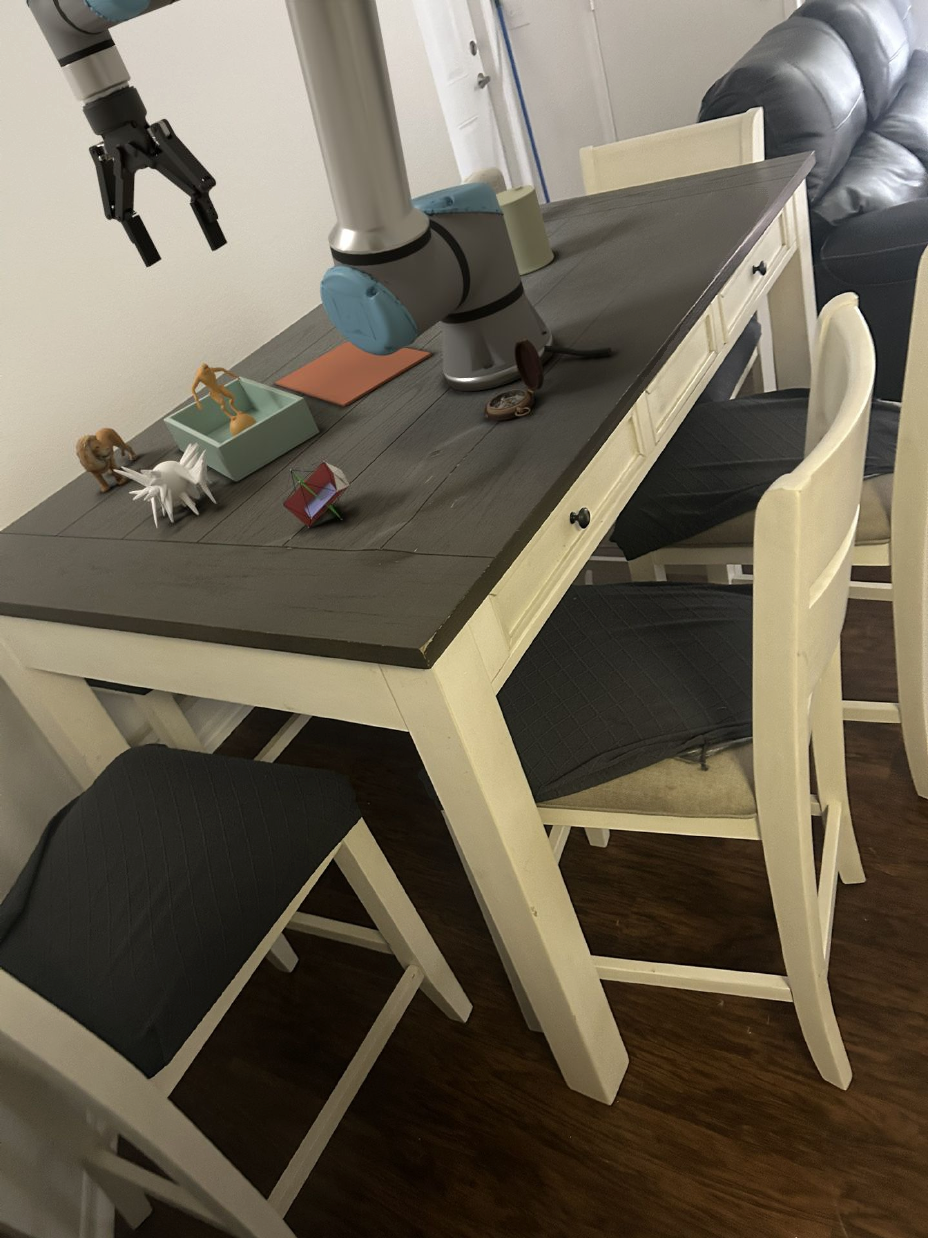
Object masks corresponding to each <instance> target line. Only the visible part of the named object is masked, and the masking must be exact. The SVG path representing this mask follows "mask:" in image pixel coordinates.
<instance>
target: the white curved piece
mask: <svg viewBox="0 0 928 1238" xmlns="http://www.w3.org/2000/svg"><path fill="white" fill-rule="evenodd" d="M477 182H482V183H486V184H488V185H489V186H491V187H492V188H493V190H494V191H495V194H498V193H501V192H503V191H506V190H508V189H507V188H508V187H507V184H506V180H505V177H504V175H503V173H502V171H501V169H499V167H496V166H489V167H483V168H480V169H478V170H476V171H474V172H471V173H470V174H469V175H468V176H466V177H465V178H464V179H463V180H462V181H461V182H460V184H459V185H464V184H469V183H477Z"/></svg>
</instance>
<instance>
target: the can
mask: <svg viewBox="0 0 928 1238" xmlns="http://www.w3.org/2000/svg"><path fill="white" fill-rule="evenodd" d="M496 197H497V199H498V202H499V205H500V208H501V210H502V211H503V213H504V215H503V216H504V220H505V223H506V227H507V231H508V234H509V238H510V241H511V245H512V249H513V252H514V256H515V259H516V263H517V267H518V270H519V274H520V276H524V275H526V274H527V275H528V274H530V273H533V272H535V271H538V270H540V269H542V268H544V267H545V266H547V265H548V264H550V263H551V262H552V261H553V260H554V257H555V255H554V253H553V251H552V247H551V244H550V241H549V240H550V239H549V237H548V233H547V230H546V226H545V222H544V217H543V213H542V210H541V207H540V203H539V198H538V194H537V189H536V186H535V185H534V184H525V185H520V186H515V187H512V188H509V189H507V190H506V191H503V192H501V193H498V194H496Z"/></svg>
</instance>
